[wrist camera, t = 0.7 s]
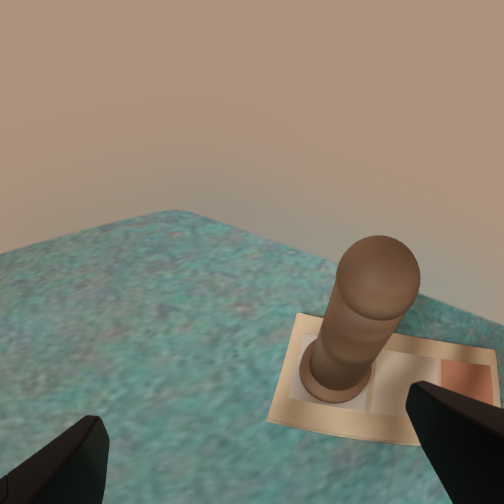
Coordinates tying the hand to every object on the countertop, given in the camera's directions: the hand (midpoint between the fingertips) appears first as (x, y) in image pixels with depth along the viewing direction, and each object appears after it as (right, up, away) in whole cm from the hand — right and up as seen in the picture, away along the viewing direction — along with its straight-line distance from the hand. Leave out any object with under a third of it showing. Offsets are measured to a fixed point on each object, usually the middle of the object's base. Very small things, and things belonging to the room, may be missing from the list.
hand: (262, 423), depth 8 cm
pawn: (+6, -5, +16) cm, 18 cm away
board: (+12, -7, +15) cm, 21 cm away
